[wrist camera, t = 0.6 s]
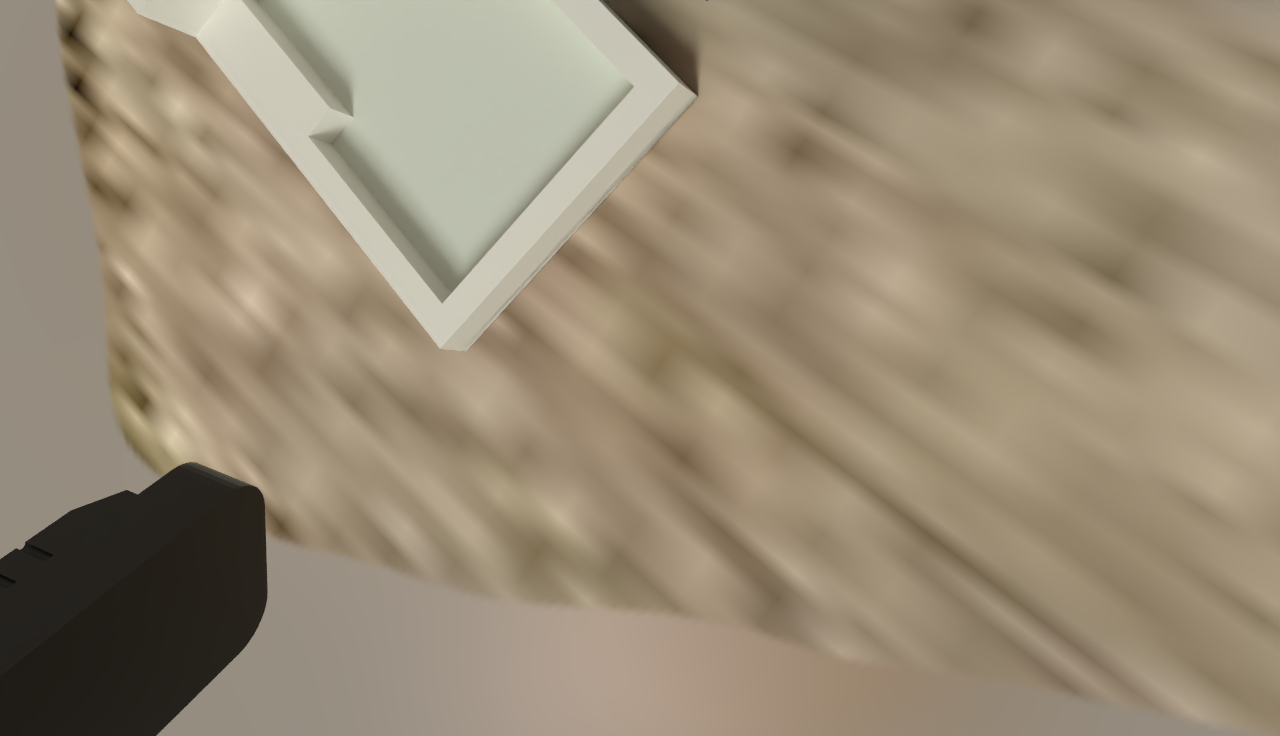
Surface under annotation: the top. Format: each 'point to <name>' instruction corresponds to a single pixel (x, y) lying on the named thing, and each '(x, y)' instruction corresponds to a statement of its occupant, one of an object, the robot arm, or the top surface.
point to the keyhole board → (446, 127)
